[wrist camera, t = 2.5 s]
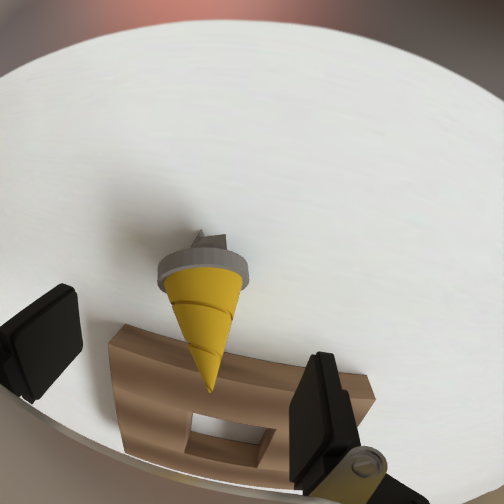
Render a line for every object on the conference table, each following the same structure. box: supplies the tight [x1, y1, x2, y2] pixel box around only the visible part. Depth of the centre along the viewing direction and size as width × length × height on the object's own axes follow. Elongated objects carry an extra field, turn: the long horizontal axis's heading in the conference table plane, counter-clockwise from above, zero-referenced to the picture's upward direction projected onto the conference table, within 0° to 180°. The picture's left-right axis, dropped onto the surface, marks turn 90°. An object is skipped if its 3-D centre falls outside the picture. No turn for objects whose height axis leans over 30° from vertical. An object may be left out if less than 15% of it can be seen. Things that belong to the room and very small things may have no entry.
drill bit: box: [157, 230, 249, 393], centre depth 16 cm, size 5×5×10 cm
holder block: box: [108, 324, 376, 490], centre depth 22 cm, size 16×20×3 cm
